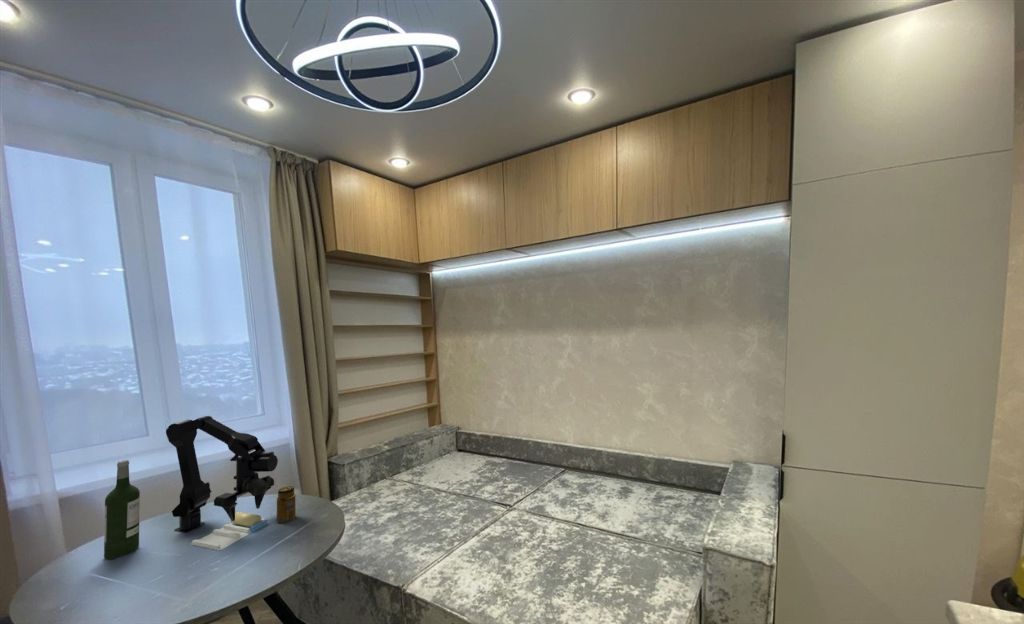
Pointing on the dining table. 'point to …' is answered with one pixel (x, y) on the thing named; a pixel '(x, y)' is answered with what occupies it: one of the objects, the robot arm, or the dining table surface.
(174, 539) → the dining table surface
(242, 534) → the white slotted organizer tray
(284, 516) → the condiment
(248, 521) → the cream soap bar
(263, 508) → the dining table surface
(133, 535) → the wine bottle
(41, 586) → the dining table surface
